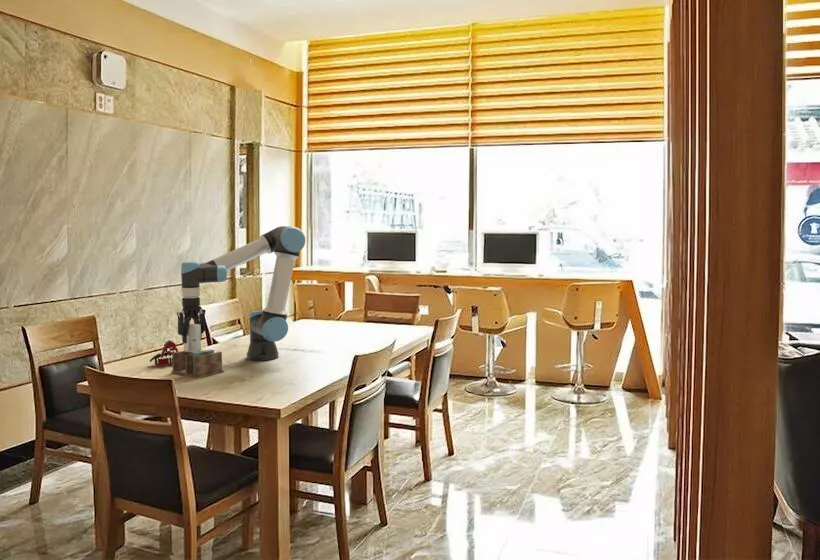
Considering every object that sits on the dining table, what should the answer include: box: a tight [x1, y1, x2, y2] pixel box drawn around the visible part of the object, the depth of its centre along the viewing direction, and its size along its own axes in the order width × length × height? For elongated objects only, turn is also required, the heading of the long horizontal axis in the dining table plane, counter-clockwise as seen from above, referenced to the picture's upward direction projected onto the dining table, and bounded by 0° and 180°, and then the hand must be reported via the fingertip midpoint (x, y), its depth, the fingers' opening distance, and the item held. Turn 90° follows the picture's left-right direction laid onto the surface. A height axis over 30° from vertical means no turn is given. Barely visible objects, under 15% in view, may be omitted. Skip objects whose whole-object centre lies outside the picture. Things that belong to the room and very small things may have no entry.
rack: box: [171, 349, 225, 379], centre depth 312 cm, size 14×18×10 cm
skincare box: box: [183, 323, 202, 352], centre depth 313 cm, size 6×4×12 cm
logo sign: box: [149, 339, 179, 367], centre depth 330 cm, size 18×4×11 cm, turn 117°
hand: (192, 349), depth 313 cm, fingers closed on skincare box, 5 cm apart
